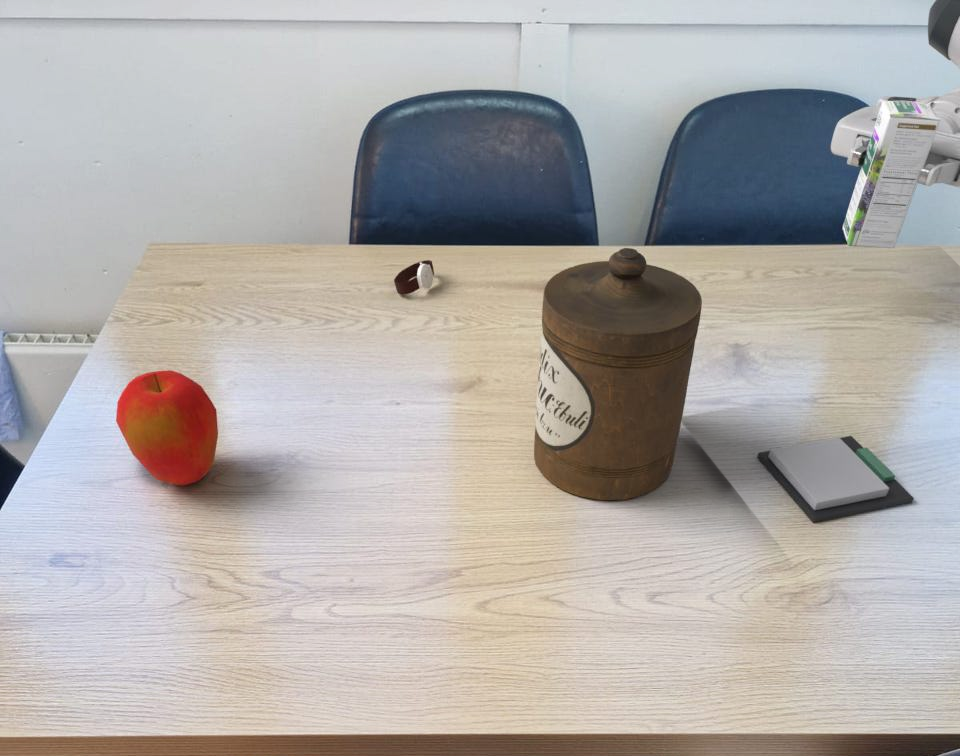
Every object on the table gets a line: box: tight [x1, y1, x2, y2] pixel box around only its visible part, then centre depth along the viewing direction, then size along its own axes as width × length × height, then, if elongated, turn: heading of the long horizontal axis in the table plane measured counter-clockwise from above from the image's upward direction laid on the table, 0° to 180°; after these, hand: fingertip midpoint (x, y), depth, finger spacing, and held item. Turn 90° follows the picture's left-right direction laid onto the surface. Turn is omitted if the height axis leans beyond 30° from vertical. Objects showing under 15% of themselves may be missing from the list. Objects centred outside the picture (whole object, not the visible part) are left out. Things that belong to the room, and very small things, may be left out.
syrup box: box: [842, 101, 940, 249], centre depth 103 cm, size 6×6×14 cm
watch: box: [393, 259, 435, 296], centre depth 117 cm, size 8×5×4 cm, turn 155°
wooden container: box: [533, 247, 703, 501], centre depth 84 cm, size 15×15×22 cm
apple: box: [115, 369, 219, 486], centre depth 85 cm, size 9×9×12 cm
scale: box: [757, 435, 915, 524], centre depth 87 cm, size 11×11×3 cm
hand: (888, 167), depth 101 cm, fingers closed on syrup box, 7 cm apart
